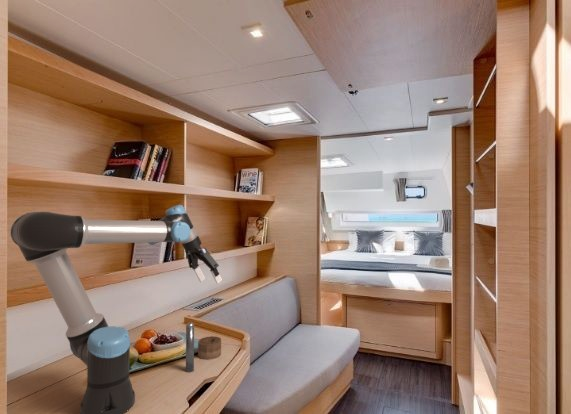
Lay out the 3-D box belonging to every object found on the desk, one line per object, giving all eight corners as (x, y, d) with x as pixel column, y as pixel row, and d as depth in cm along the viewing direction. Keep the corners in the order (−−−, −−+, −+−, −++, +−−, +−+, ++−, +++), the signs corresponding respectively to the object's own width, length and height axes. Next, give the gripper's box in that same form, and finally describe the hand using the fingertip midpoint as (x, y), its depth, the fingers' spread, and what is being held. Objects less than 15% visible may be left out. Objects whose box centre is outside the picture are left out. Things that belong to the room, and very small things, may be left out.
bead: (214, 360, 133) (214, 346, 133) (193, 357, 136) (193, 343, 136) (224, 351, 142) (224, 337, 143) (205, 348, 145) (205, 335, 145)
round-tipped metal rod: (191, 372, 123) (191, 323, 124) (184, 371, 124) (184, 323, 124) (195, 369, 126) (195, 321, 126) (188, 368, 127) (188, 320, 127)
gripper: (212, 233, 132) (233, 277, 137) (182, 236, 149) (202, 274, 154) (198, 243, 127) (220, 288, 132) (169, 244, 144) (190, 284, 149)
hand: (211, 281), depth 143 cm, fingers open, 13 cm apart
